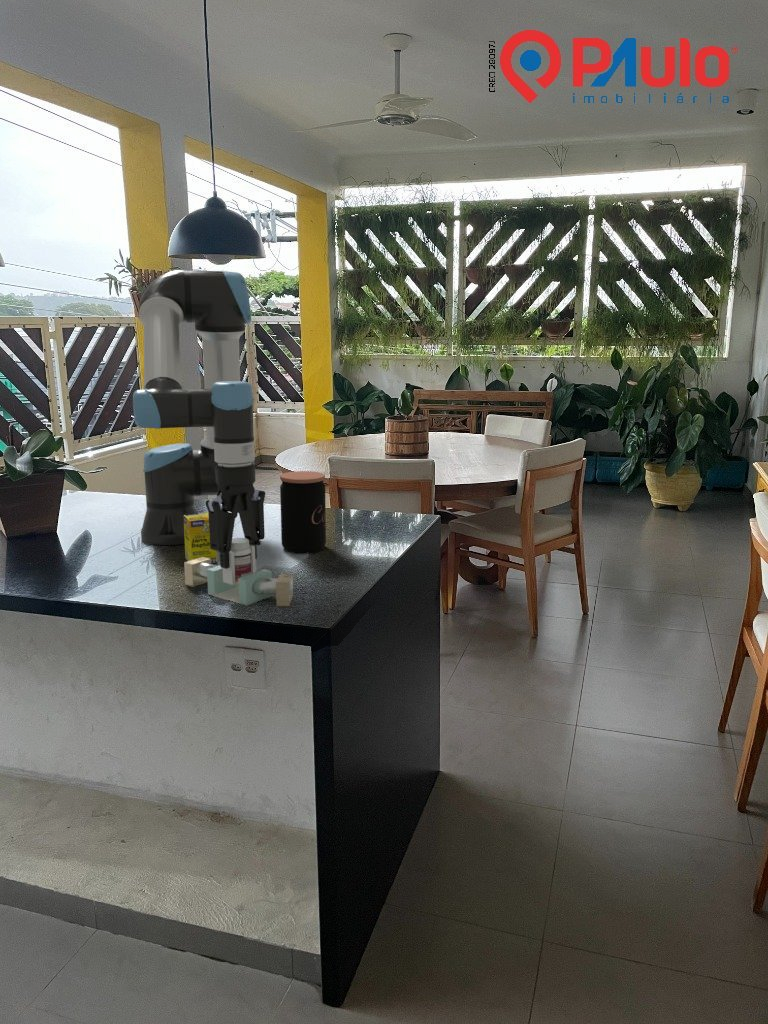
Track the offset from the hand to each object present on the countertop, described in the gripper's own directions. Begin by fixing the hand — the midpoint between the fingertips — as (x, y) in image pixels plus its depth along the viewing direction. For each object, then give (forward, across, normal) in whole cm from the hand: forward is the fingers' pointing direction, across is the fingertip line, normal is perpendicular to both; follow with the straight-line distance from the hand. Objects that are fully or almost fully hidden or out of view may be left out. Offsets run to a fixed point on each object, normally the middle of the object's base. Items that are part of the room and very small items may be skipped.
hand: (239, 579), depth 151 cm
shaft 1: (+3, 0, +10) cm, 11 cm away
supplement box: (+4, +9, +23) cm, 25 cm away
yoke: (+3, 0, 0) cm, 3 cm away
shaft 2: (+3, +2, -7) cm, 8 cm away
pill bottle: (+1, 0, 0) cm, 1 cm away
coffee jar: (+3, +32, +13) cm, 35 cm away
